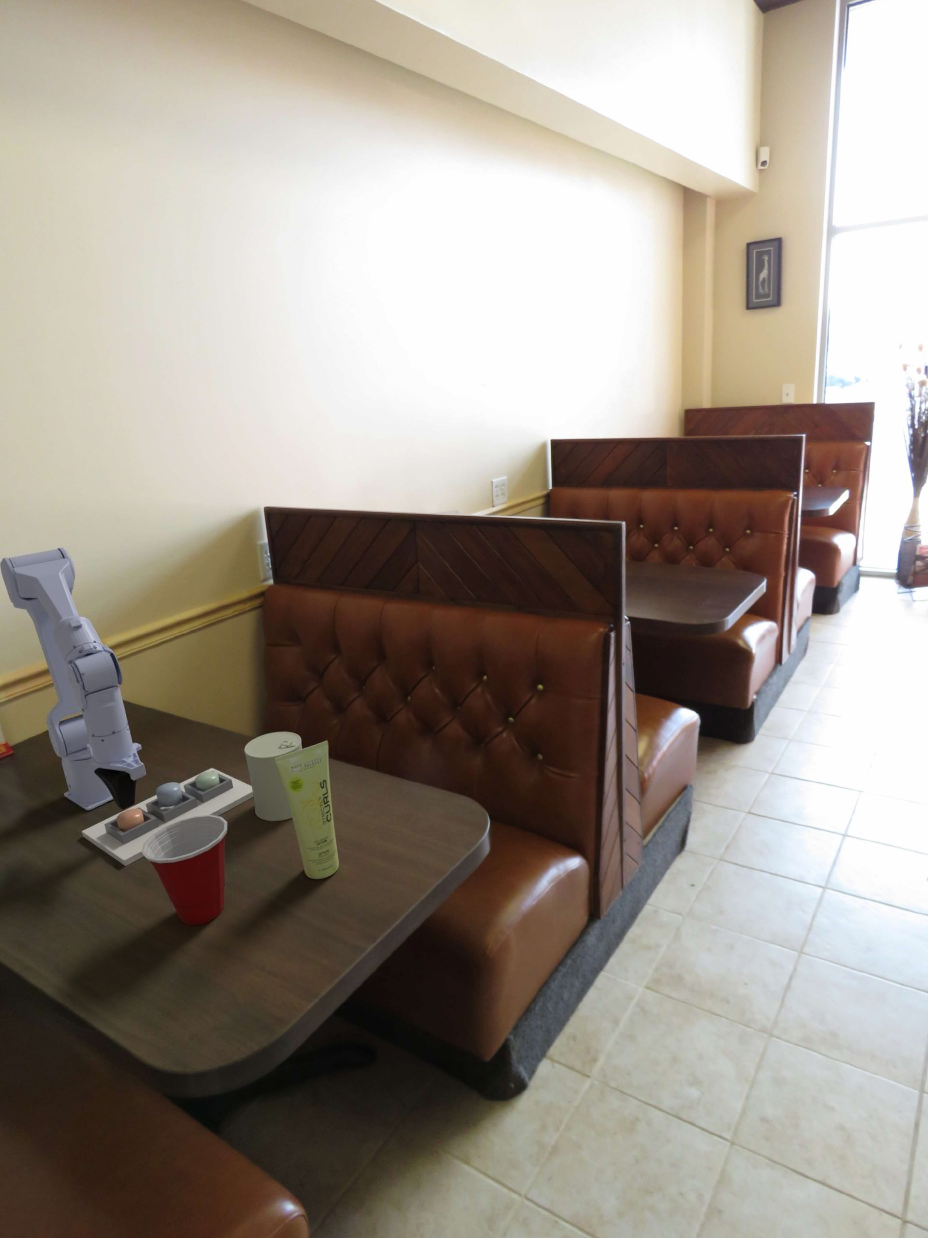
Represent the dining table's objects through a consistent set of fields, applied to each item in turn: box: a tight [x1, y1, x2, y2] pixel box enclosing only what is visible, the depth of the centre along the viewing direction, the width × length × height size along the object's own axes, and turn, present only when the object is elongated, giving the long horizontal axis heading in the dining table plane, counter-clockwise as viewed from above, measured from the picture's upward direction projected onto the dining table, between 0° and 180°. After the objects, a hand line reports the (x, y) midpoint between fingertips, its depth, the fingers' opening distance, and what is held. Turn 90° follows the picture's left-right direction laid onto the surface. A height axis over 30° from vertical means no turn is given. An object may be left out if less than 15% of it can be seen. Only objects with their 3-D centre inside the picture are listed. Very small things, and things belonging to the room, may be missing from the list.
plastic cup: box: [141, 815, 228, 926], centre depth 99 cm, size 11×11×12 cm
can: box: [243, 731, 303, 822], centre depth 123 cm, size 9×9×12 cm
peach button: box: [116, 808, 144, 832], centre depth 119 cm, size 4×4×2 cm
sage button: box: [195, 771, 220, 792], centre depth 129 cm, size 4×4×2 cm
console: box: [81, 767, 254, 867], centre depth 125 cm, size 14×24×3 cm, turn 141°
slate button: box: [155, 781, 183, 807], centre depth 124 cm, size 4×4×2 cm
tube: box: [275, 740, 340, 880], centre depth 104 cm, size 6×5×20 cm
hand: (126, 805), depth 118 cm, fingers closed
